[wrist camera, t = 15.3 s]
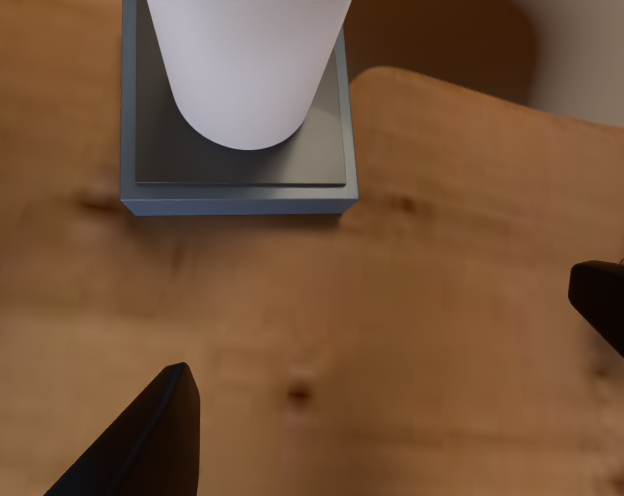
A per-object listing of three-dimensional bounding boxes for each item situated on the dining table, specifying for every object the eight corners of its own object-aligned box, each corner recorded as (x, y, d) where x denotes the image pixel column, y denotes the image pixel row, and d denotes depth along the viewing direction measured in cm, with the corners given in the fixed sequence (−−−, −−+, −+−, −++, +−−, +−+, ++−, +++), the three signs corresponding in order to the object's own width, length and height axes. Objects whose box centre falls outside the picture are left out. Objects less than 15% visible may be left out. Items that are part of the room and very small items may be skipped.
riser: (343, 213, 21) (361, 197, 18) (135, 216, 18) (116, 198, 15) (328, 41, 22) (343, 1, 20) (136, 22, 20) (120, -27, 17)
